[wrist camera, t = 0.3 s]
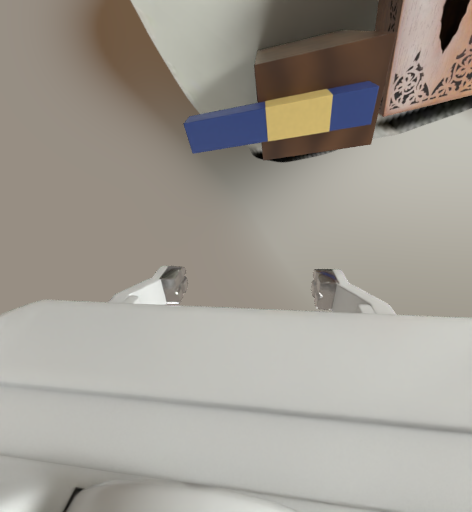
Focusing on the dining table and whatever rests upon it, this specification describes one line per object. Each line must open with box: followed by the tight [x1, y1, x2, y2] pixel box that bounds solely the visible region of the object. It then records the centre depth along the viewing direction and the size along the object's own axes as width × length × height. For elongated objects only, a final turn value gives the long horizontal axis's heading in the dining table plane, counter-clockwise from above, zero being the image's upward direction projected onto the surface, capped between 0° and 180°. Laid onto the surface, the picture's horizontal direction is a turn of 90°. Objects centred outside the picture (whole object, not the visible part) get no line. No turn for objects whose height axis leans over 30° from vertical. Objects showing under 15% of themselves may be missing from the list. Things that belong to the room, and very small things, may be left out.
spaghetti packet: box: [184, 81, 379, 153], centre depth 30 cm, size 24×4×4 cm, turn 101°
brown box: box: [254, 30, 397, 160], centre depth 39 cm, size 16×12×24 cm
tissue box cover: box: [375, 0, 472, 117], centre depth 35 cm, size 26×14×10 cm, turn 15°
